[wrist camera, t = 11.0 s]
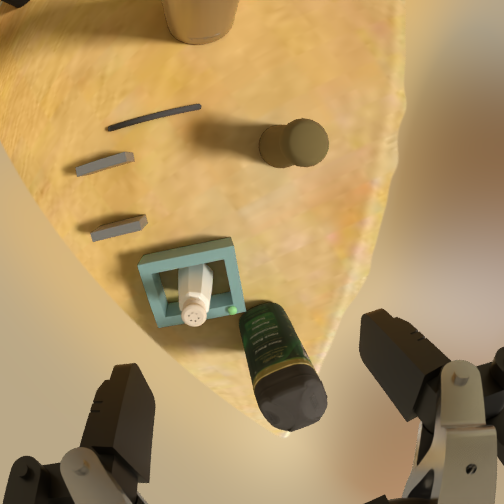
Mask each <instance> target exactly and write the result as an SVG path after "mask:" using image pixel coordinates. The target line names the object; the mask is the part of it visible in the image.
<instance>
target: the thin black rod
mask: <svg viewBox="0 0 504 504" xmlns="http://www.w3.org/2000/svg"><path fill="white" fill-rule="evenodd" d="M199 109H201V105H200V104H195V105H189V106H184V107H180V108H175V109H170V110H166V111H162V112H157V113H153V114H149V115H146V116H142V117H138V118H135V119H131V120H128V121H124V122H121V123H118V124H114V125H111V126H109V127H108V131H114V130H117V129H120V128H124V127H127V126H131V125H134V124H138V123H142V122H145V121H149V120H153V119H157V118H161V117H166V116H170V115H175V114H179V113H184V112H189V111H194V110H199Z"/></svg>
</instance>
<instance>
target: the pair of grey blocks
mask: <svg viewBox="0 0 504 504" xmlns="http://www.w3.org/2000/svg"><path fill="white" fill-rule="evenodd" d="M130 162H134V155H133V153H132V152H123V153H119V154H116V155H113V156H109V157H106V158H103V159H100V160H97V161H94V162H91V163H88V164H85V165H82V166H79V167H76V173H77V177H79V176H85V175H90V174H93V173H96V172H99V171H103V170H106V169H109V168H112V167H116V166H119V165H123V164H126V163H130ZM147 223H148V222H147V218H146V215H142V216H138V217H133V218H129V219H125V220H121V221H117V222H113V223H110V224H106V225H102V226H100V227H98V228H97V229H95V230H94V231H93V232H91V233H90V234H91V237H92V241H93V242H95V241H99V240H103V239H107V238H111V237H115V236H119V235H123V234H127V233H132V232H136V231H140V230H142V229H143V228H144V227H145V226H146V224H147Z"/></svg>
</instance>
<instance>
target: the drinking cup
mask: <svg viewBox="0 0 504 504" xmlns="http://www.w3.org/2000/svg"><path fill="white" fill-rule="evenodd" d="M1 1H4V2H6V3H8V4H10V5H12V6H14V7H16V8H19V7H22V6H24V5H25V4H26V3H27V2H28V1H29V0H1Z"/></svg>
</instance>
